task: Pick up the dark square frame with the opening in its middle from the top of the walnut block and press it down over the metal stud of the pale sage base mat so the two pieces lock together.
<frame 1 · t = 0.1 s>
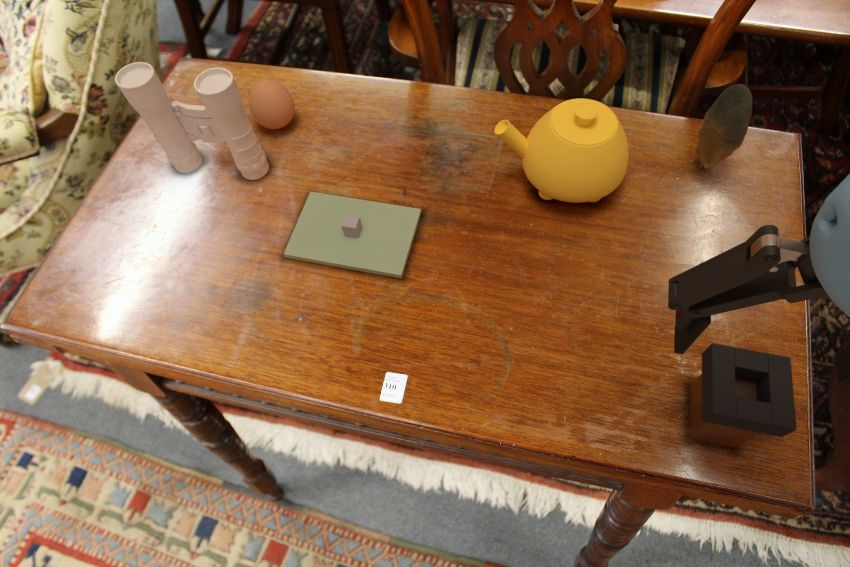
hand: (757, 354, 50), 21 cm above the table, tool pointing down, fingers open, 13 cm apart
egg: (278, 124, 97), on the table
dark square frame: (740, 393, 61), point 8 cm above the table, touching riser
decorative stone: (701, 168, 87), on the table
teapot: (554, 177, 88), on the table
binoculars: (221, 166, 93), on the table
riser: (711, 415, 68), on the table
base mat: (354, 234, 84), on the table
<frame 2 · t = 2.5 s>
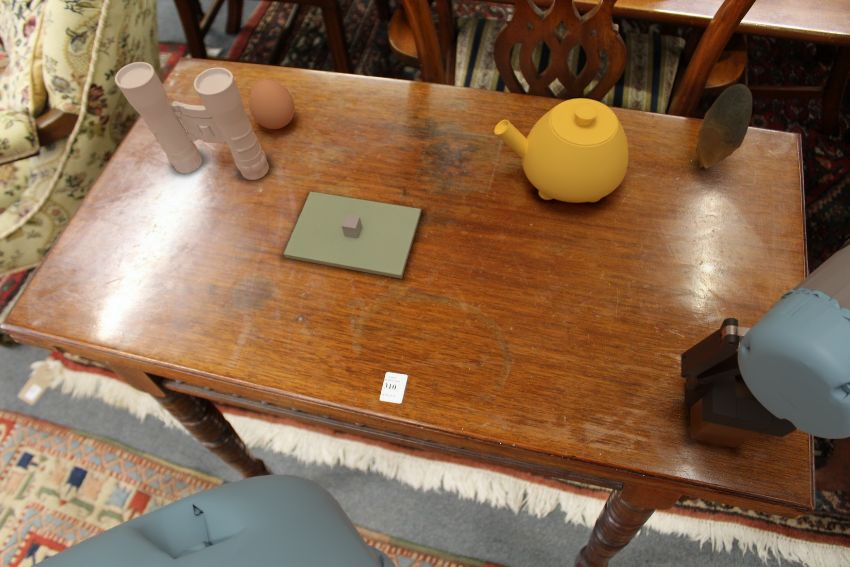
hand: (727, 403, 64), 5 cm above the table, tool pointing down, fingers closed on dark square frame, 8 cm apart
dark square frame: (740, 393, 61), point 8 cm above the table, touching gripper, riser
everything else where it was.
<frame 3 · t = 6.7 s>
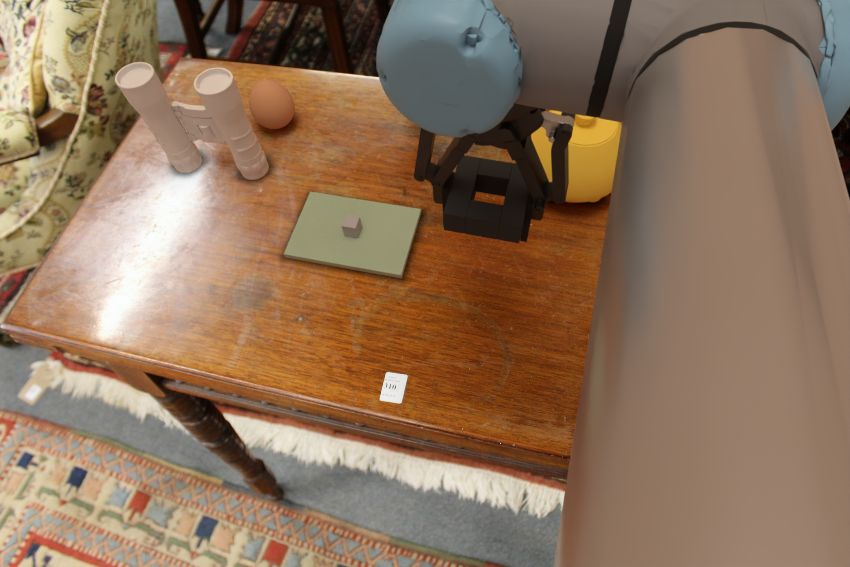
hand: (486, 224, 63), 17 cm above the table, tool pointing down, fingers closed on dark square frame, 8 cm apart
dark square frame: (488, 206, 60), point 20 cm above the table, touching gripper
everything else where it was.
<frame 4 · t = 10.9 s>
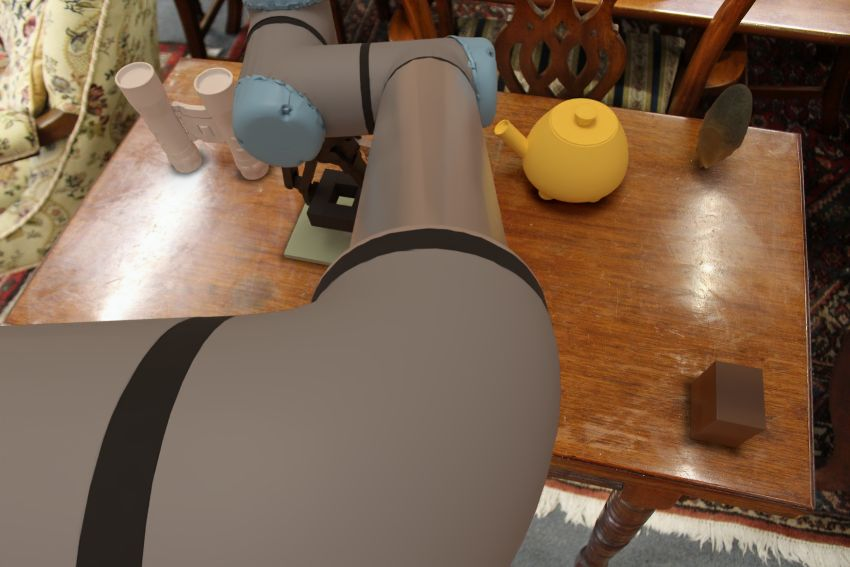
hand: (350, 221, 81), 3 cm above the table, tool pointing down, fingers closed on dark square frame, 8 cm apart
dark square frame: (347, 207, 79), point 6 cm above the table, touching gripper
everything else where it was.
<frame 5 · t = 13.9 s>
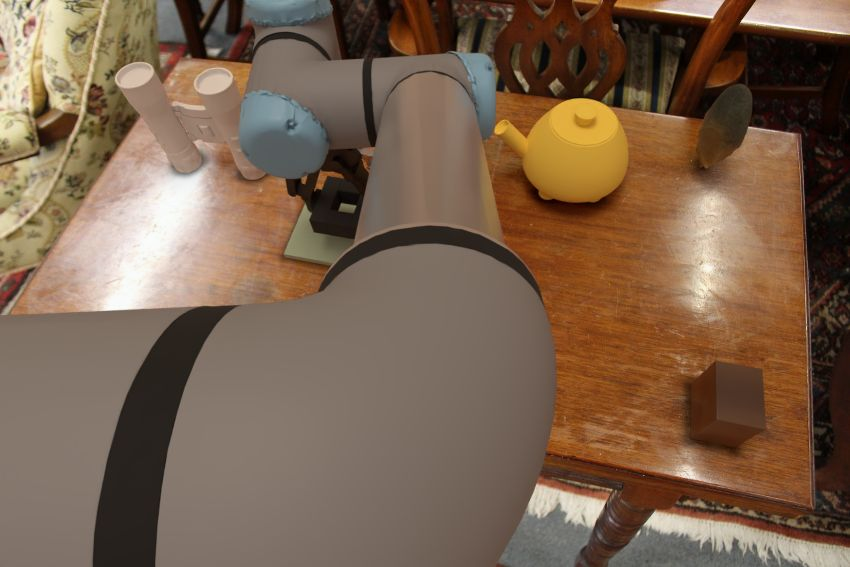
hand: (352, 228, 83), 2 cm above the table, tool pointing down, fingers closed on dark square frame, 8 cm apart
dark square frame: (349, 214, 80), point 5 cm above the table, touching gripper
everything else where it was.
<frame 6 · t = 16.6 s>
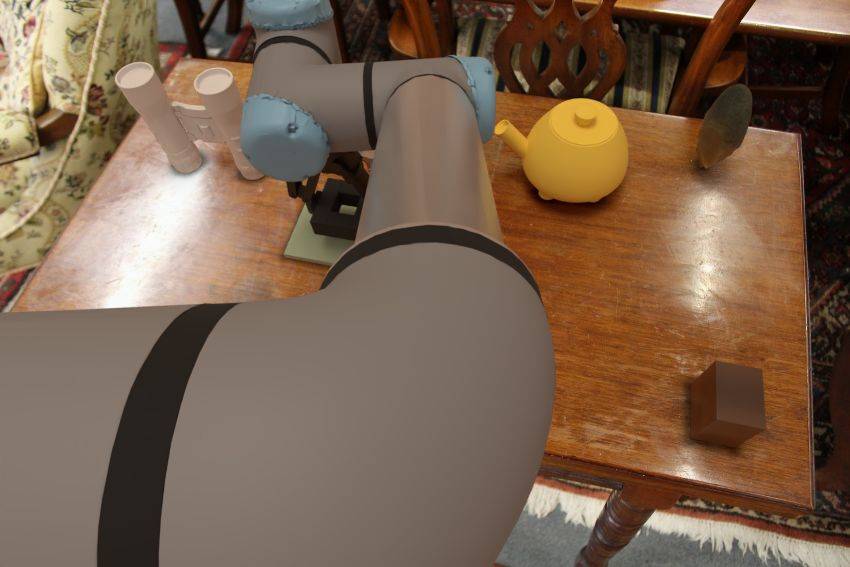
hand: (353, 229, 83), 1 cm above the table, tool pointing down, fingers closed on dark square frame, 8 cm apart
dark square frame: (349, 216, 80), point 5 cm above the table, touching gripper
everything else where it was.
when the fingers open (2 cm above the table, at t = 19.6 s): dark square frame drops 5 cm, resting on base mat.
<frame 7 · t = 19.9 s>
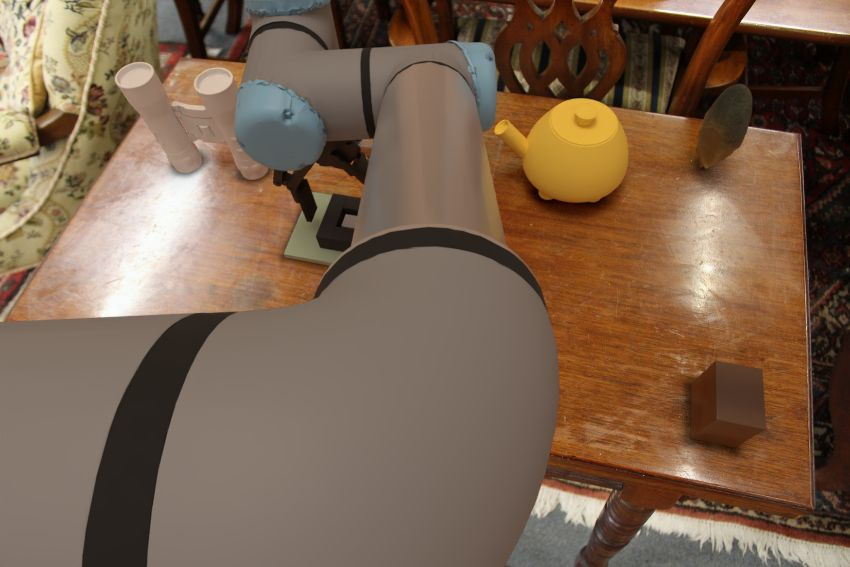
hand: (350, 221, 81), 4 cm above the table, tool pointing down, fingers open, 11 cm apart
dark square frame: (353, 230, 83), point 1 cm above the table, touching base mat
everything else where it was.
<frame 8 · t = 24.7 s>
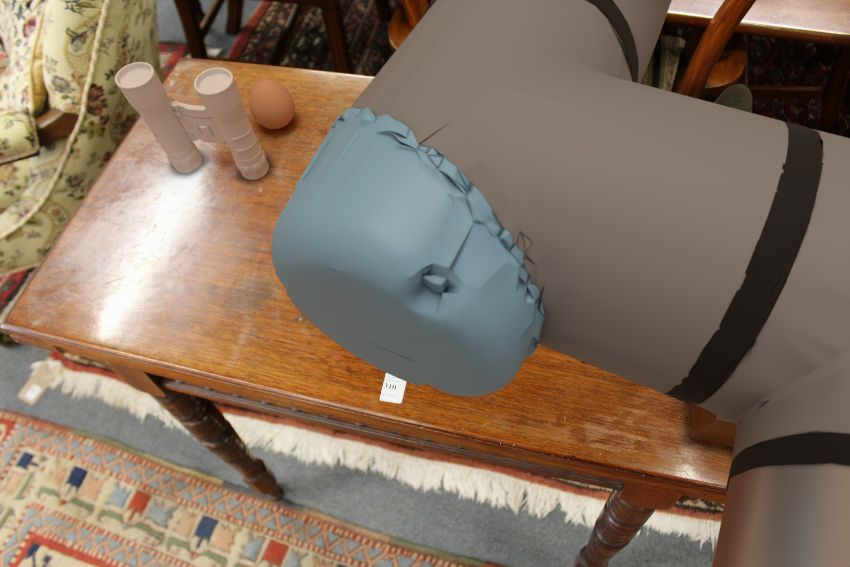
hand: (506, 333, 48), 25 cm above the table, tool pointing down, fingers open, 13 cm apart
nothing on the table moved.
at the end: dark square frame 0.1 cm off-centre on the base mat, point 1.0 cm above the base mat's base; dark square frame tilted 0°; the gripper is holding nothing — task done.
